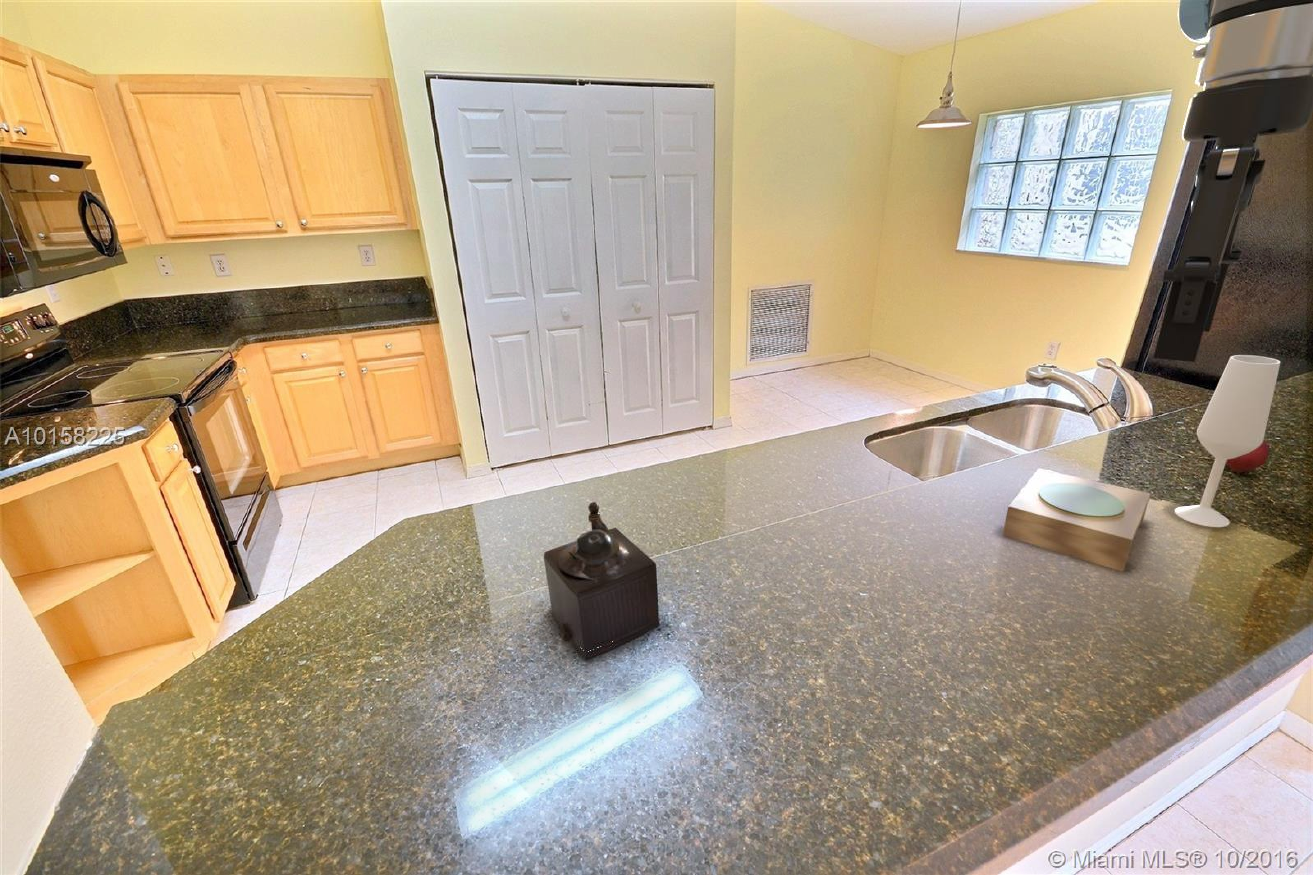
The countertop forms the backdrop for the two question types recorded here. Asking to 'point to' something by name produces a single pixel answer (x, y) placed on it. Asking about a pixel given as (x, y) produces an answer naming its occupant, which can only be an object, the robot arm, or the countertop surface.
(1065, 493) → the wooden display base
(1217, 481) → the champagne flute
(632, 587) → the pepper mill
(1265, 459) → the onion
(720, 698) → the countertop surface
